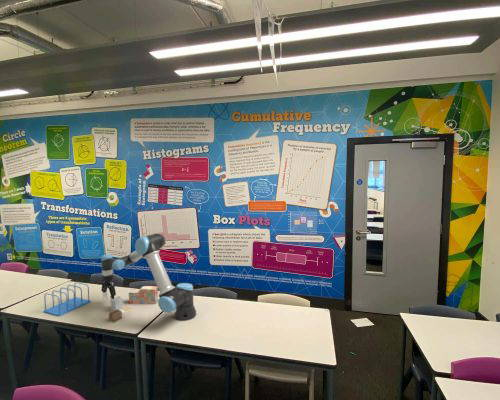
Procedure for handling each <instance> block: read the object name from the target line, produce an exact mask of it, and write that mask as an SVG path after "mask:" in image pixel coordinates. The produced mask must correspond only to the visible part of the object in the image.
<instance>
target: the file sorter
mask: <svg viewBox="0 0 500 400" xmlns="http://www.w3.org/2000/svg"><path fill="white" fill-rule="evenodd" d="M76 284H78V285H79V284H80V285H84V286H87V299H86V298H83V290H82V288H81V286H76ZM66 286H67V287H61V288H60V289H59V290H53V291H52V294H51V293H47V292H46V293H45V294H44V295H43V296H44V297H43V298H44V310H43V313H45V314H48V315H52V316H56V317H62V316H63V315H65V314H69V313H70V312H72V311H74V310H77V309H79V308H81V306H82V307H83V306H86V305H88V304H91V300H90V286H89V285H88V284H87V283H83V282H82V283H81V282H77V281H76V282H75V283H74V285H71V284H68V285H66ZM69 287H73V288H74V290H73V289H71V288H69ZM76 288H78V289H80V297H78V296H76V293H77V292H76ZM62 289H63V290H67V293H66V292H63V291H62ZM69 291H72V292H73V297H72V298H70V297H69V296H70V295H69ZM54 292H56V293H59V296H60V297H59V296H58V295H55V294H54ZM62 294H64V295H65V296H66V297H65V300H66V301H63V302H62ZM46 295H47V296H48V295H49V296H52V297H51V299H52V306H51V307H48V308H47V302H46V301H47V300H46ZM54 297H56V298H57V299H58V304H56V305H55V303H54V302H55V301H54ZM69 298H70V299H69Z"/></svg>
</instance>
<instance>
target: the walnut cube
mask: <svg viewBox="0 0 500 400" xmlns="http://www.w3.org/2000/svg"><path fill="white" fill-rule="evenodd" d="M122 319H123V312H122V311H120V310H118V309H117V310H114V311H113V310H111V311H109V312H108V321H111V322H112V323H116V322H118V321H121V320H122Z"/></svg>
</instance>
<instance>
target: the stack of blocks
mask: <svg viewBox="0 0 500 400" xmlns="http://www.w3.org/2000/svg"><path fill="white" fill-rule="evenodd" d="M158 300H159V288H158V286H157V285H156V286H154V285H153V286H152V285H150V286H149V285H145V286H144V285H143V286H141V287H140V289H131V290H130V291H129V292H128V303H129V304H130V305H132V304H133V305H156V304H158Z"/></svg>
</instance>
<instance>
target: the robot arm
mask: <svg viewBox="0 0 500 400" xmlns="http://www.w3.org/2000/svg"><path fill="white" fill-rule="evenodd" d="M165 245H166V238H165V236H164V235H162V234H161V233H152V234H148V235H144V236H141V237H139V238H138V239H136V241H135V243H134V249H135V250H134V251H133V252H131V253H130V254H127V255H125V256H122V257H118V258H114V257H113V254H111V253H110V254H109V253H107V254H104V255H102V256H101V275H102V280H101V290H100V291H101V292H102V294H103V295H102V296H103V297H102V298H103V302H104V301H108V291H109V294H110V302H111V299H114V298H115V296H117V292H116V288H115V282H113V281H112V280H114V271H115V270H116V271H121V270H123V269H124V267H127V266H129V265H133V264H135V263H137V262H138V261H139V260H140V259H146V262H147V265H148V267H149V269H150V272H151V274H152V277H153V279H154V281H155V284H156V286H158V301H157V304H158V307H159V309H160V310H161V311H162V312H164V313H166V314H168V313H172V312H174V319H176V320H177V321H189V320H192V319H194V318H195V317H196V316H197V310H196V308H195V304H194V285H193V284H192V283H188V282H186V283H185V282H182V283H177V284H176V286H174V285H173V284H172V282H171V279H170V277H169V275H168V273H167V270H166V268H165V266H164V264H163V261H162V259H161V256H160V254H159V253H160V251H161V249H163V247H165ZM107 289H108V290H107Z"/></svg>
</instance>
